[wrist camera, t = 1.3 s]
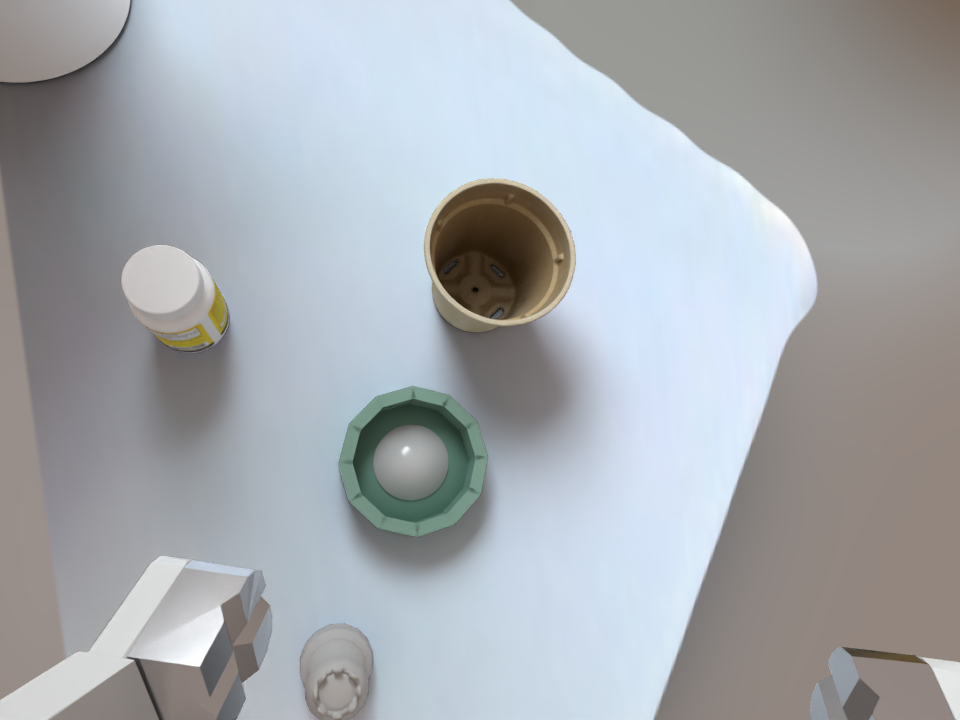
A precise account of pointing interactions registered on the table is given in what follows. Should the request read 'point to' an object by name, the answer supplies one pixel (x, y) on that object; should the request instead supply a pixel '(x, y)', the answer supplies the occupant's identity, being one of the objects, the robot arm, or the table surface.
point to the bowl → (413, 461)
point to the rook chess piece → (336, 671)
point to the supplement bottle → (175, 298)
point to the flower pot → (497, 255)
